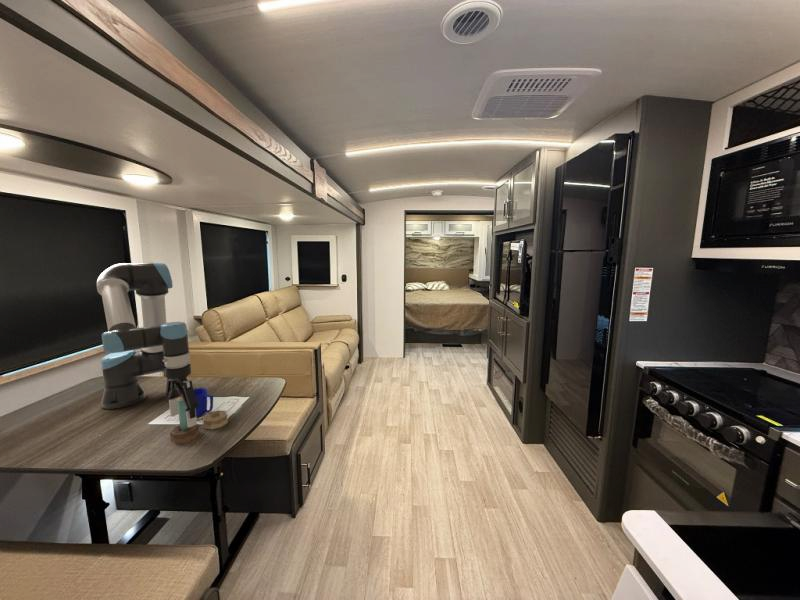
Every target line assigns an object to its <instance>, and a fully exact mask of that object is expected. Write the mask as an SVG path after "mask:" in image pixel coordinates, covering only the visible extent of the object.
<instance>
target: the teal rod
mask: <svg viewBox="0 0 800 600" xmlns="http://www.w3.org/2000/svg"><path fill="white" fill-rule="evenodd" d="M177 398H178V399H177V403H178V412H179V414H178V419H179V425H180V431H185V430H187V429H189V428H188V425H187V415H186V411H185V410H186V409H187V408H186V405H185V403H184V400H183V398H182V396H181V395H180V396H178V397H177Z"/></svg>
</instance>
